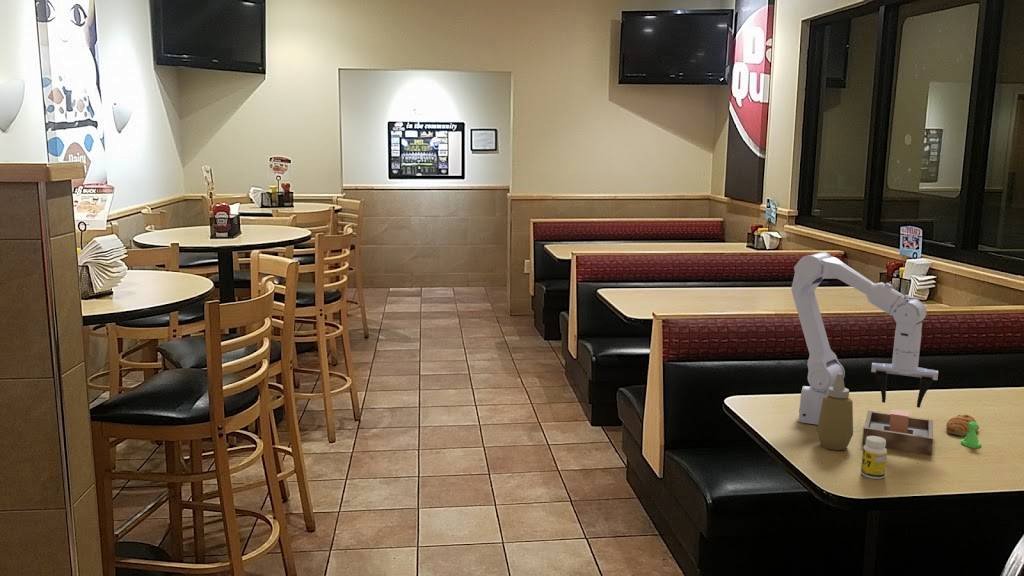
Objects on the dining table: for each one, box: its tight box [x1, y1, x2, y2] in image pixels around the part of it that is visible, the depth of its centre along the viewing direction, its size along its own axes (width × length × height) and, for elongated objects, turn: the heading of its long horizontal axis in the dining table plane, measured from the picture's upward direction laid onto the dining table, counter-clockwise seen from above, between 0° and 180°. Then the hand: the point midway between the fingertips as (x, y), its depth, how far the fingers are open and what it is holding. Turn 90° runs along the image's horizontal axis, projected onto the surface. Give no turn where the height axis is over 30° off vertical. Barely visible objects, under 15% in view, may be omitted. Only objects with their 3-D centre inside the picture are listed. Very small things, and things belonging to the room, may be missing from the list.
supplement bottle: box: [860, 436, 888, 480], centre depth 178 cm, size 5×5×8 cm
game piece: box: [960, 421, 982, 449], centre depth 198 cm, size 4×4×6 cm
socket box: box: [861, 410, 934, 456], centre depth 201 cm, size 15×15×4 cm
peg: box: [889, 409, 910, 433], centre depth 200 cm, size 4×4×7 cm
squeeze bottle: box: [816, 373, 854, 451], centre depth 194 cm, size 8×8×18 cm
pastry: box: [945, 414, 980, 437], centre depth 207 cm, size 9×7×4 cm
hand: (900, 403), depth 199 cm, fingers open, 7 cm apart
